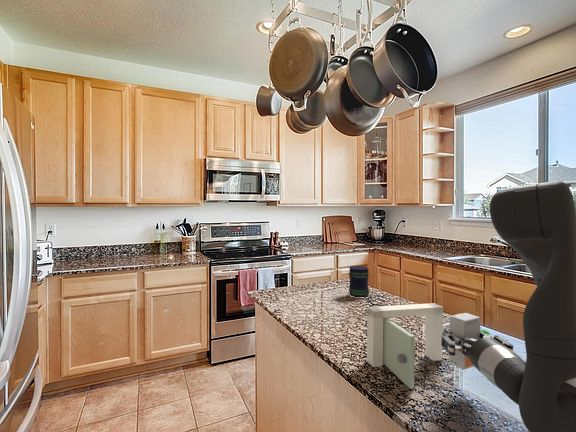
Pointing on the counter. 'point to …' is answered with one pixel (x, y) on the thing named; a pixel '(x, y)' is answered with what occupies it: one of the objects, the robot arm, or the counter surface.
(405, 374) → the door
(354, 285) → the storage jar
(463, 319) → the skincare box
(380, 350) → the door frame
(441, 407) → the counter surface
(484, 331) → the polyhedron
